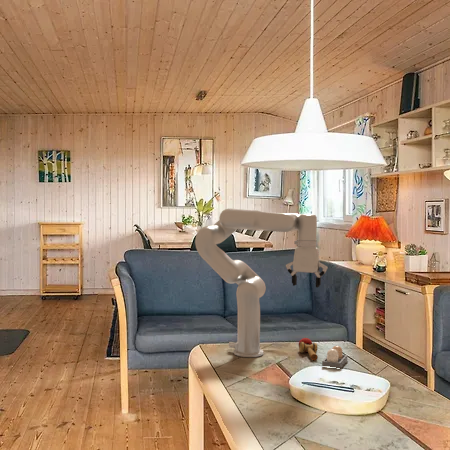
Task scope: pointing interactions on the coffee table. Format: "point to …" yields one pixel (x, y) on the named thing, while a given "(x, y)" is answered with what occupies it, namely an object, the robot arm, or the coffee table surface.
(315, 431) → the coffee table surface
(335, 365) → the carton
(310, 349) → the kendama
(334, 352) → the egg
